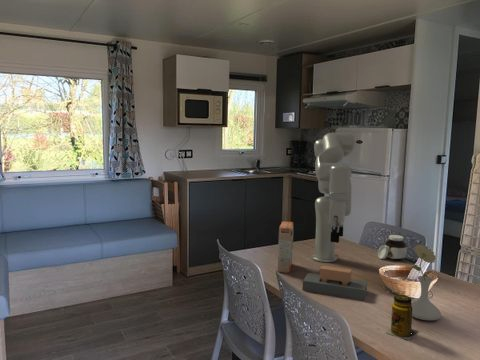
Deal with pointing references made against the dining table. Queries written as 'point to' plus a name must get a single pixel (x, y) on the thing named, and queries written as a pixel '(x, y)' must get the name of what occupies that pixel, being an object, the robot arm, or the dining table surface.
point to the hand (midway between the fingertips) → (336, 239)
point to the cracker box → (285, 247)
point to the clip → (335, 274)
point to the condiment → (402, 317)
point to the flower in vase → (424, 288)
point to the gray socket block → (335, 287)
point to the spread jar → (393, 248)
